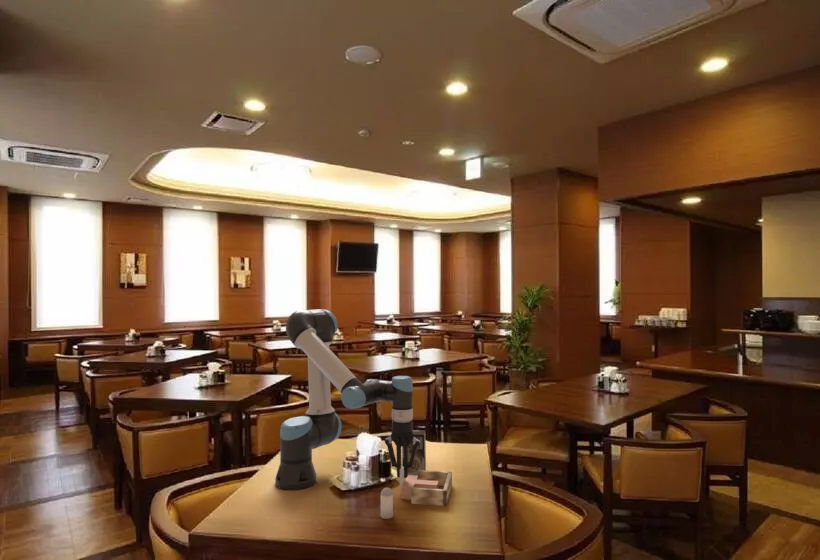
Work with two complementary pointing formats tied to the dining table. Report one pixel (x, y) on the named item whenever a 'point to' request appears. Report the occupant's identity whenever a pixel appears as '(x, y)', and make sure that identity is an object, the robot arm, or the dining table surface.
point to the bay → (433, 495)
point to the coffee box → (417, 454)
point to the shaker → (386, 503)
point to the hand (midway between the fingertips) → (402, 486)
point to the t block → (416, 485)
